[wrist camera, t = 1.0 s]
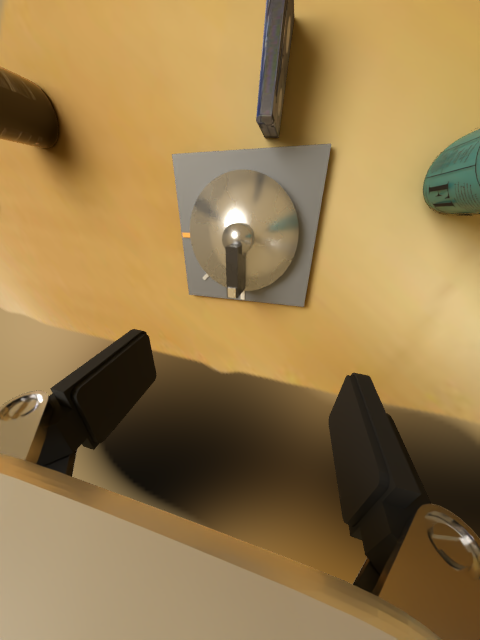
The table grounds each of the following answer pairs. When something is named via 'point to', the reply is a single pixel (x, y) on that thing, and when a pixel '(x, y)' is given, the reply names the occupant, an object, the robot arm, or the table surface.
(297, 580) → the robot arm
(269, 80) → the mini dv tape
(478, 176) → the beverage bottle
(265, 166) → the dial plate
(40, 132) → the supplement bottle
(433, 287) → the table surface
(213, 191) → the dial
